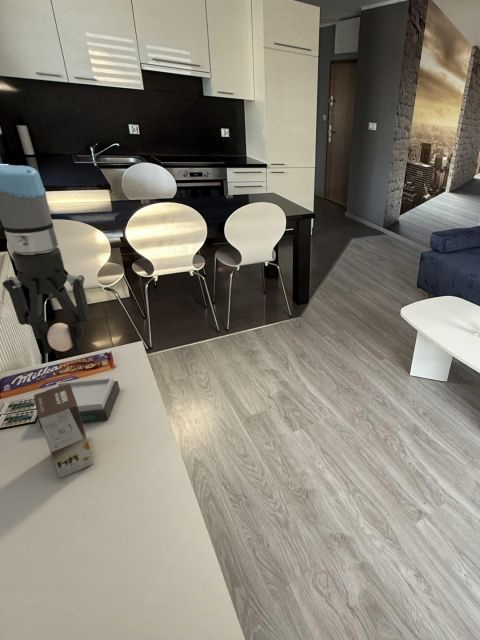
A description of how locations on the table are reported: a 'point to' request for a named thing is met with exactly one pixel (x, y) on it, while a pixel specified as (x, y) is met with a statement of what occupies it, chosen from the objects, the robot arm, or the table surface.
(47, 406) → the coffee box
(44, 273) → the robot arm
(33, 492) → the table surface
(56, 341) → the egg
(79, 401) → the kitchen scale
